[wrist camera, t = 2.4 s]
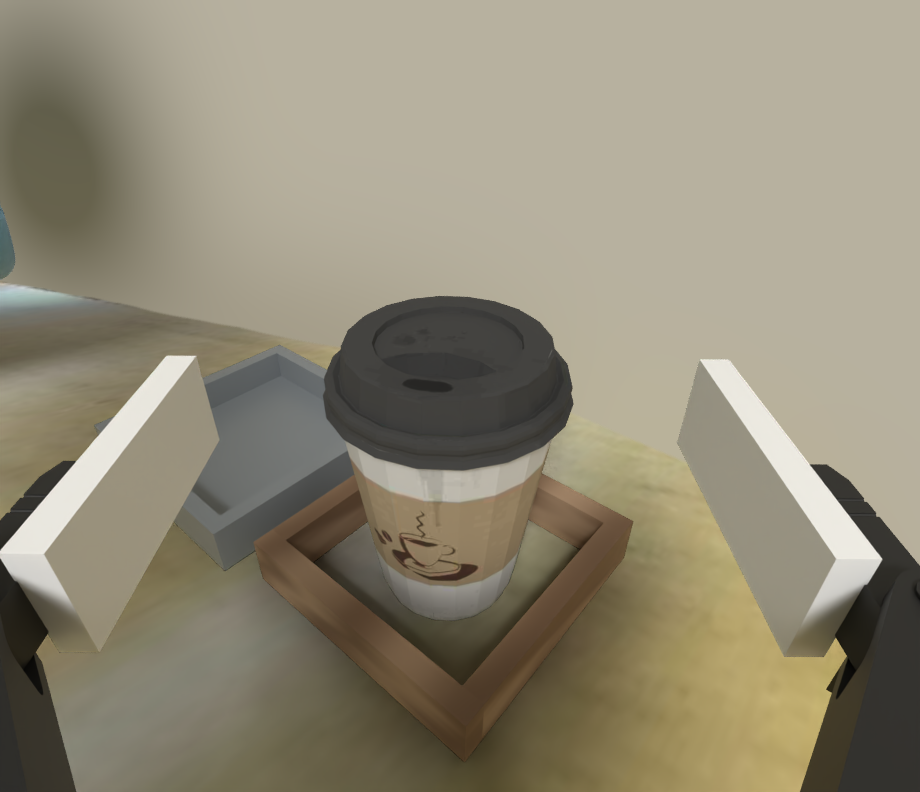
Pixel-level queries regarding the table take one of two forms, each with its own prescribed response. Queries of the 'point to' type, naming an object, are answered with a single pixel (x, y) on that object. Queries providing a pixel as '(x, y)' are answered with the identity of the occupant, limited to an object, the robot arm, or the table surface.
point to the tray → (262, 453)
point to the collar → (400, 663)
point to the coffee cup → (447, 441)
